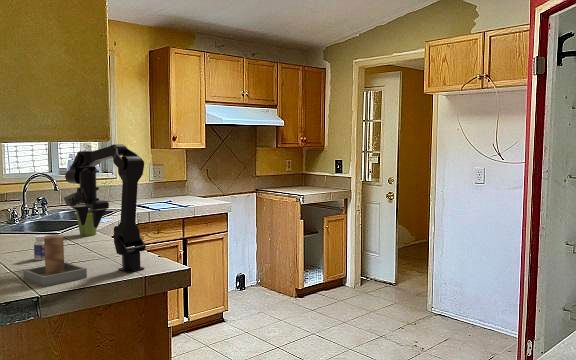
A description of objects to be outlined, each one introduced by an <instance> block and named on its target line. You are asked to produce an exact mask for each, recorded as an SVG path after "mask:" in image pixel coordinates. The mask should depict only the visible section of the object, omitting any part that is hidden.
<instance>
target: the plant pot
mask: <svg viewBox="0 0 576 360" xmlns="http://www.w3.org/2000/svg"><path fill="white" fill-rule="evenodd" d="M74 215H75V217H76V220H77V225H78V231H79V235H80V236H82V237H83V236H86V237H89V236H90V237H92V236H95V235H97V230H98V227H97V228H94V225H93V218H92V213H91V212H89V211H88V214H87V218H86V222H85V225H81V222H80V219H79V217H78V214H77V212H76V211H75V212H74Z"/></svg>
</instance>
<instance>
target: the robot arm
mask: <svg viewBox="0 0 576 360" xmlns="http://www.w3.org/2000/svg"><path fill="white" fill-rule="evenodd" d="M109 159H112V162H113V164H114V165H115V166H116V167H117V174H118V176H119V177H120V179H121V181H122V185H121V187H122V188H121V202H120V203H121V204H120V221H119V224H118V225H115V226H114V227H113V235H112V239H113V244H114V248H115V251H116V254H118V255H119V256H120V255H121V267H118V271H121V272H123V273H124V272H125V273H133V272H137V271H142V270H145V267H143V266H141V252H144V251H146V248H147V246H146V243H145V242H144V240H143V239H142V237H141V234H140V233H141V231H140V229H139V226H138V225H137V223H136V220H137V217H136V216H137V204H138V203H137V200H138V199H137V198H138V183H139V181H140V180H141V178H142V176H143V174H144V170H145V160H143V158H142V156H140V155H139V154H138V153H136V152H134V151H133V150H131V149H129V148H128V147H127V146H126V145H125V144H119V143H118V144H111V145H109V146H106V147H105V146H104V147H103V148H98V149H95V150H83V151H82V150H80V151H78V152H77V153H76V155H75V157H74V160H73V161H72V163H71V165H69V169H68V170H67V171H66V172H65V174H64V177H65V181H66V182H67V183H69V184H73V185H74V184H75V185H79V187H77V188H76V192H73V193H71V194H69V195H66V196H64V197H63V200H64V202H65V205H66V207H70V208H71V209H73V210H74V211H75V212H77V214H78V217H79V219H80V222H81V225H85V222H86V218H87V214H88V211H89V212H91V213H92V218H93V225H94V228H97V229H98V227H99V225H100V223H101V221H102V218H103V216H104V214H105V212H106V211H107V210H108V209H109V208H110V202H108V200H104V199H100V198H99V197H97V192H98V191H99V189H100V188H99V187H98V186H97V174H98V173H100V170H99V169H98V168H97V166H98V165H100V164H102V162H103V161H106V160H109Z"/></svg>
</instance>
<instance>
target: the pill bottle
mask: <svg viewBox="0 0 576 360" xmlns="http://www.w3.org/2000/svg"><path fill="white" fill-rule="evenodd" d="M45 236H48V235H47V234H40V235H36V236H35V241H34V243H33V253H34V254H33V255H34V257H33V258H34V260H35V261H45V245H44V237H45Z"/></svg>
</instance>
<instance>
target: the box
mask: <svg viewBox="0 0 576 360" xmlns="http://www.w3.org/2000/svg"><path fill="white" fill-rule="evenodd" d="M64 271H65V272H64V273H59V274H54V275H49V276H46V271H45V265H44V266H39V267H33V268H28V269H23V280H25V281H27V282H30V283H33V284H35V285H38V286H40V287H42V288H45V287H49V286H55V285H58V284H64V283H68V281H69V282H71V281H77V279H78V280H81V279H86V278H87V277H88V273H87V271H88V270H87V268H86V267H83V266H79V265H77V264H73V263H70V262H67V261H66V262H65V261H64Z"/></svg>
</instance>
